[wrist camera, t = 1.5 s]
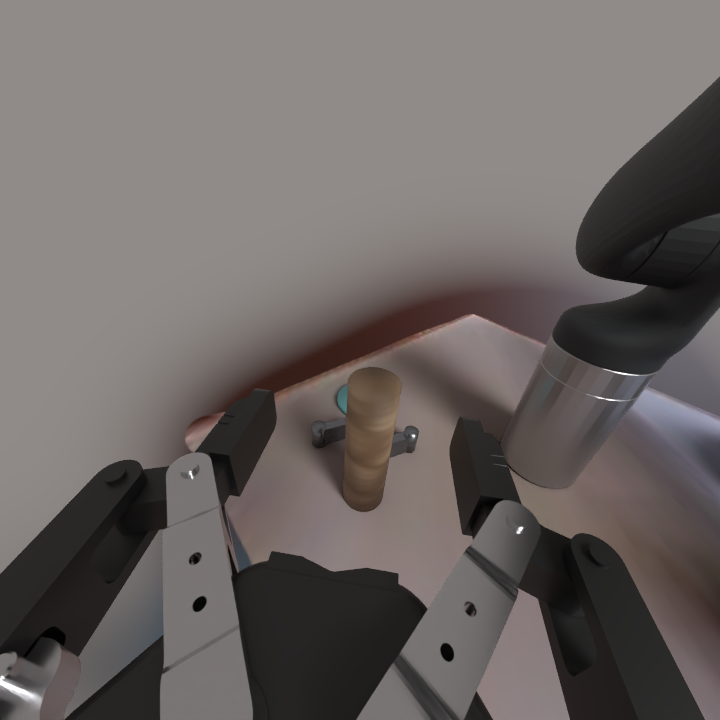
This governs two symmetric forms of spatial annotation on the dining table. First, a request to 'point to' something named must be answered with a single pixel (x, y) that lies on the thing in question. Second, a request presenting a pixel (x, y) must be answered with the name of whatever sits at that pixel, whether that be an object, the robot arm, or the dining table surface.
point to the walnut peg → (369, 435)
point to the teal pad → (343, 399)
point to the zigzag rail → (337, 431)
